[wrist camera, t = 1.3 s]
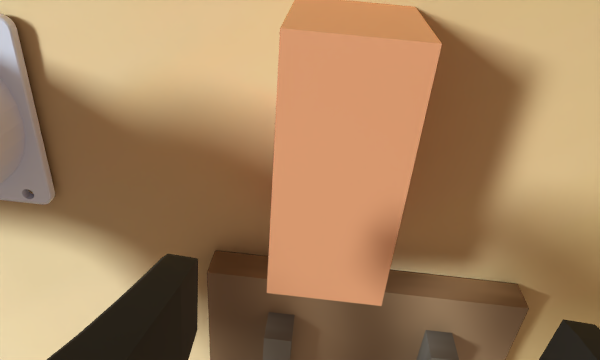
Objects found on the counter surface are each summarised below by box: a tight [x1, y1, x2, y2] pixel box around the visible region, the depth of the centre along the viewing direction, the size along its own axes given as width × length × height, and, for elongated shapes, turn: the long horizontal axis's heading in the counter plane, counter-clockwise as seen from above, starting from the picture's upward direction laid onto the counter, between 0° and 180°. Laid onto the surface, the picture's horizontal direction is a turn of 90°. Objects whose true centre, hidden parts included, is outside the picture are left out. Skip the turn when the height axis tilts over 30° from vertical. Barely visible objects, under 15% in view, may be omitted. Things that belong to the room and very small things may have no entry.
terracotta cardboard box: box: [267, 0, 442, 306], centre depth 16 cm, size 4×9×5 cm, turn 176°
